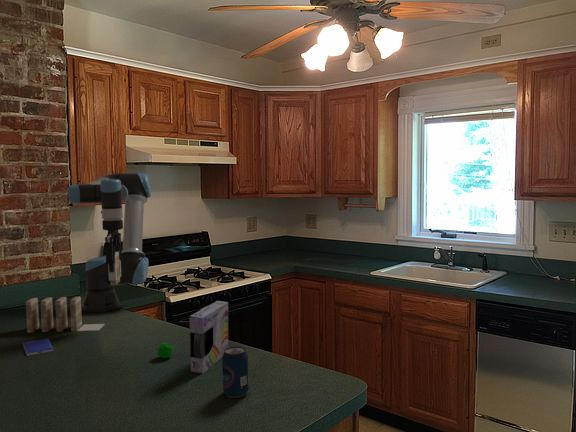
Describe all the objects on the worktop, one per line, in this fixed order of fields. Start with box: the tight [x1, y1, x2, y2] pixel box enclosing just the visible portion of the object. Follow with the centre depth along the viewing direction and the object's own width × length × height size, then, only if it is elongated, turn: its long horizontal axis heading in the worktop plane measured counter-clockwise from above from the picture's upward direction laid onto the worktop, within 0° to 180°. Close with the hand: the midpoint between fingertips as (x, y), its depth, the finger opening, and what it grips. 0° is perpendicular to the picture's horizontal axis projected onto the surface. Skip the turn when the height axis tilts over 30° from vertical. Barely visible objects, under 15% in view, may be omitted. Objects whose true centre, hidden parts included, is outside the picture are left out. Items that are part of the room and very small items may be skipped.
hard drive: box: [22, 338, 55, 357], centre depth 174 cm, size 2×8×12 cm
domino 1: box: [25, 297, 40, 333], centre depth 194 cm, size 2×6×12 cm, turn 4°
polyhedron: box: [156, 342, 174, 360], centre depth 163 cm, size 5×5×5 cm
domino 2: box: [39, 296, 54, 333], centre depth 195 cm, size 2×6×12 cm, turn 4°
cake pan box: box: [189, 300, 229, 374], centre depth 157 cm, size 19×5×18 cm, turn 161°
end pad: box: [76, 323, 105, 332], centre depth 196 cm, size 8×8×1 cm
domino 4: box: [69, 296, 83, 332], centre depth 196 cm, size 2×6×12 cm, turn 4°
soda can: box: [221, 346, 250, 399], centre depth 135 cm, size 7×7×12 cm
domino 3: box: [54, 296, 69, 332], centre depth 195 cm, size 2×6×12 cm, turn 4°
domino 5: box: [110, 252, 120, 286], centre depth 195 cm, size 2×6×12 cm, turn 4°
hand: (115, 278), depth 196 cm, fingers closed on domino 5, 6 cm apart
